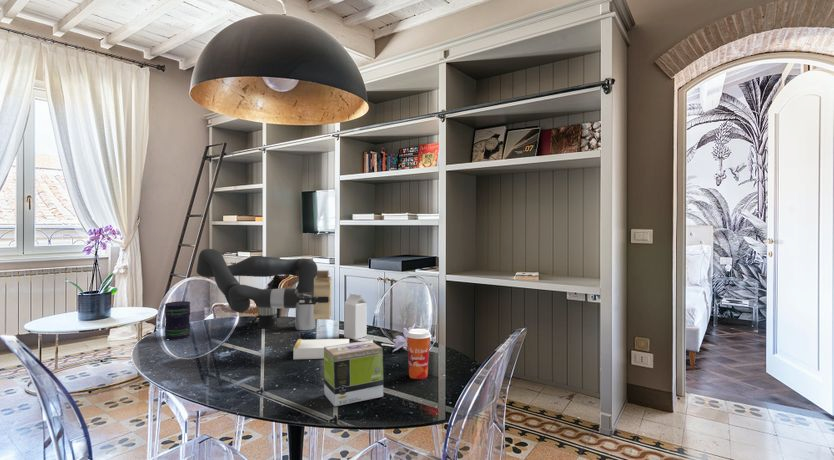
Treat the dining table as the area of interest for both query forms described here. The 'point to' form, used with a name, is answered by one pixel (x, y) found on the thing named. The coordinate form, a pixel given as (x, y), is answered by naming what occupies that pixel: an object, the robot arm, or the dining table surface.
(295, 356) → the white flat box
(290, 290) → the robot arm
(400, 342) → the water lily
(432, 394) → the dining table surface
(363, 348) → the tea box
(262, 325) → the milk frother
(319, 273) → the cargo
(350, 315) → the milk carton
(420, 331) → the coffee cup
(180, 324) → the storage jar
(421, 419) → the dining table surface
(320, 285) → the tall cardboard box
